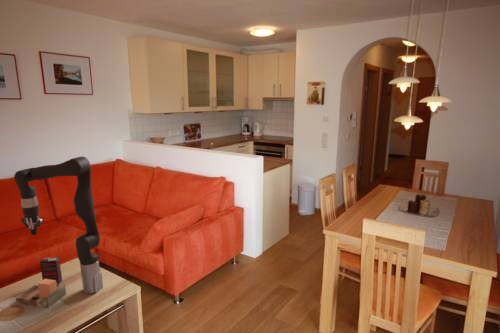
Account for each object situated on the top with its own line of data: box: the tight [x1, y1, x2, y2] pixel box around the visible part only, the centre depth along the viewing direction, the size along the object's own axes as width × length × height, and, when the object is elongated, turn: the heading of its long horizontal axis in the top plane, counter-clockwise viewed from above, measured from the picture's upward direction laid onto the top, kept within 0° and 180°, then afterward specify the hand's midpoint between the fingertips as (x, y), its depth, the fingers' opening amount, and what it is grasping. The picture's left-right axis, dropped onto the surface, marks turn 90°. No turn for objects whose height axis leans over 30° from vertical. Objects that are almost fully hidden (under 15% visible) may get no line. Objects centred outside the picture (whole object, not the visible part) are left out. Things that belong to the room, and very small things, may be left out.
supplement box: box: [39, 256, 63, 287], centre depth 185 cm, size 9×5×16 cm, turn 99°
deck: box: [15, 283, 67, 308], centre depth 173 cm, size 20×12×6 cm, turn 78°
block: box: [37, 279, 58, 298], centre depth 170 cm, size 7×4×8 cm, turn 78°
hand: (34, 234), depth 180 cm, fingers closed
